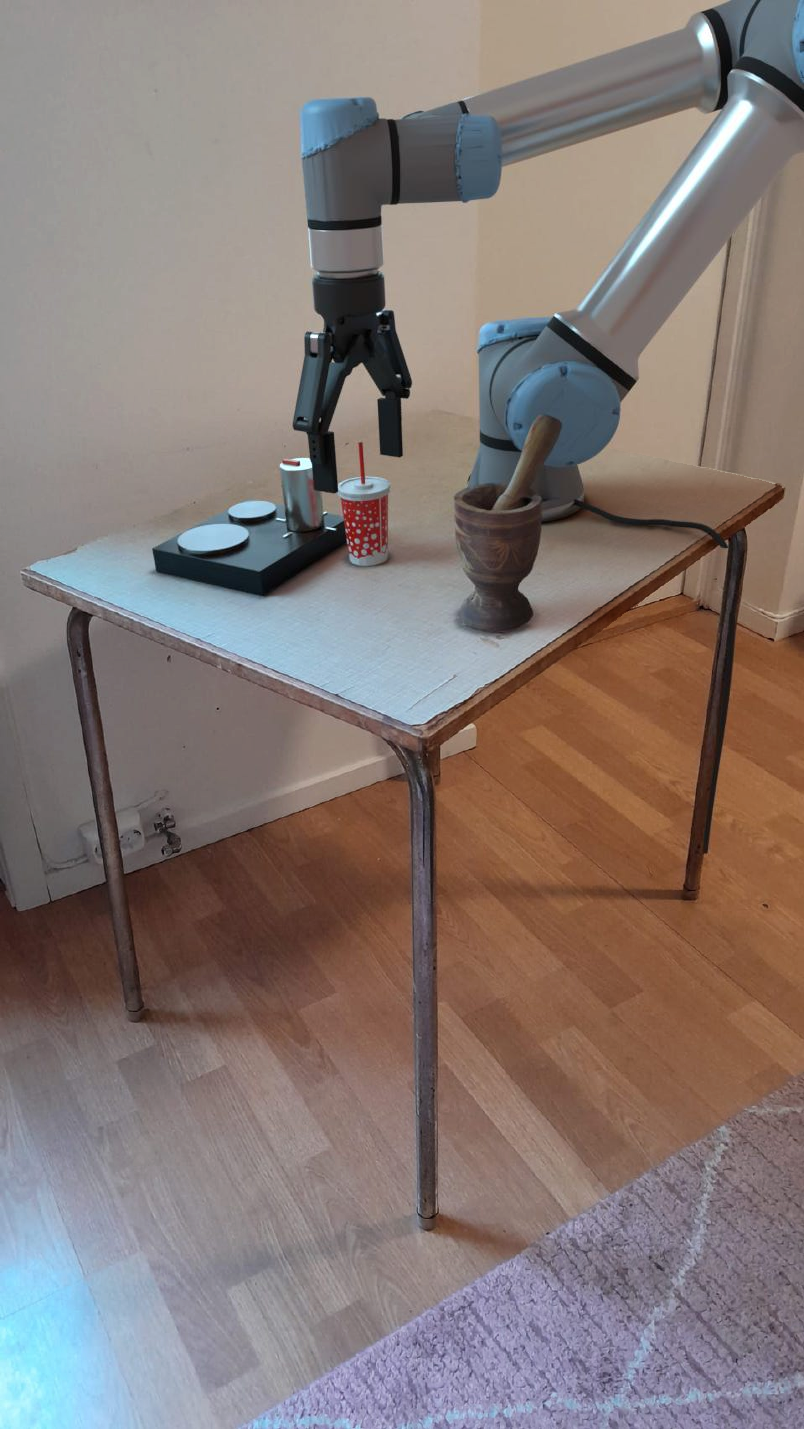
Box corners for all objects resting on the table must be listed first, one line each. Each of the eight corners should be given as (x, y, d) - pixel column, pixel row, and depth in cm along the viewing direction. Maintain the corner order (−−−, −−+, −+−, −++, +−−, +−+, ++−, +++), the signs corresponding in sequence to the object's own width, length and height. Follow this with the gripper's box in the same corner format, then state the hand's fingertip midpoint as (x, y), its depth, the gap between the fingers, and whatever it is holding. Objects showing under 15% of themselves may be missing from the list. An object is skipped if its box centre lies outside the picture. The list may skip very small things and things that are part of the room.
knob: (332, 521, 126) (326, 458, 122) (310, 534, 123) (303, 469, 119) (301, 515, 129) (294, 453, 125) (278, 528, 125) (271, 465, 121)
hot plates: (303, 512, 130) (303, 507, 129) (218, 560, 118) (217, 555, 118) (248, 502, 134) (247, 498, 133) (160, 548, 122) (160, 543, 122)
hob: (358, 541, 129) (356, 516, 127) (269, 597, 116) (266, 571, 114) (250, 521, 136) (247, 497, 135) (156, 572, 124) (151, 547, 122)
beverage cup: (372, 544, 128) (364, 430, 120) (404, 557, 123) (398, 440, 116) (332, 558, 124) (322, 442, 117) (364, 573, 120) (355, 453, 113)
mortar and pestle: (497, 583, 116) (497, 402, 106) (567, 599, 112) (574, 412, 101) (441, 624, 108) (435, 432, 98) (514, 643, 104) (516, 444, 93)
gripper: (381, 252, 118) (389, 438, 129) (243, 290, 100) (266, 502, 111) (438, 255, 115) (442, 445, 126) (306, 294, 97) (324, 513, 108)
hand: (360, 472), depth 118 cm, fingers open, 13 cm apart
